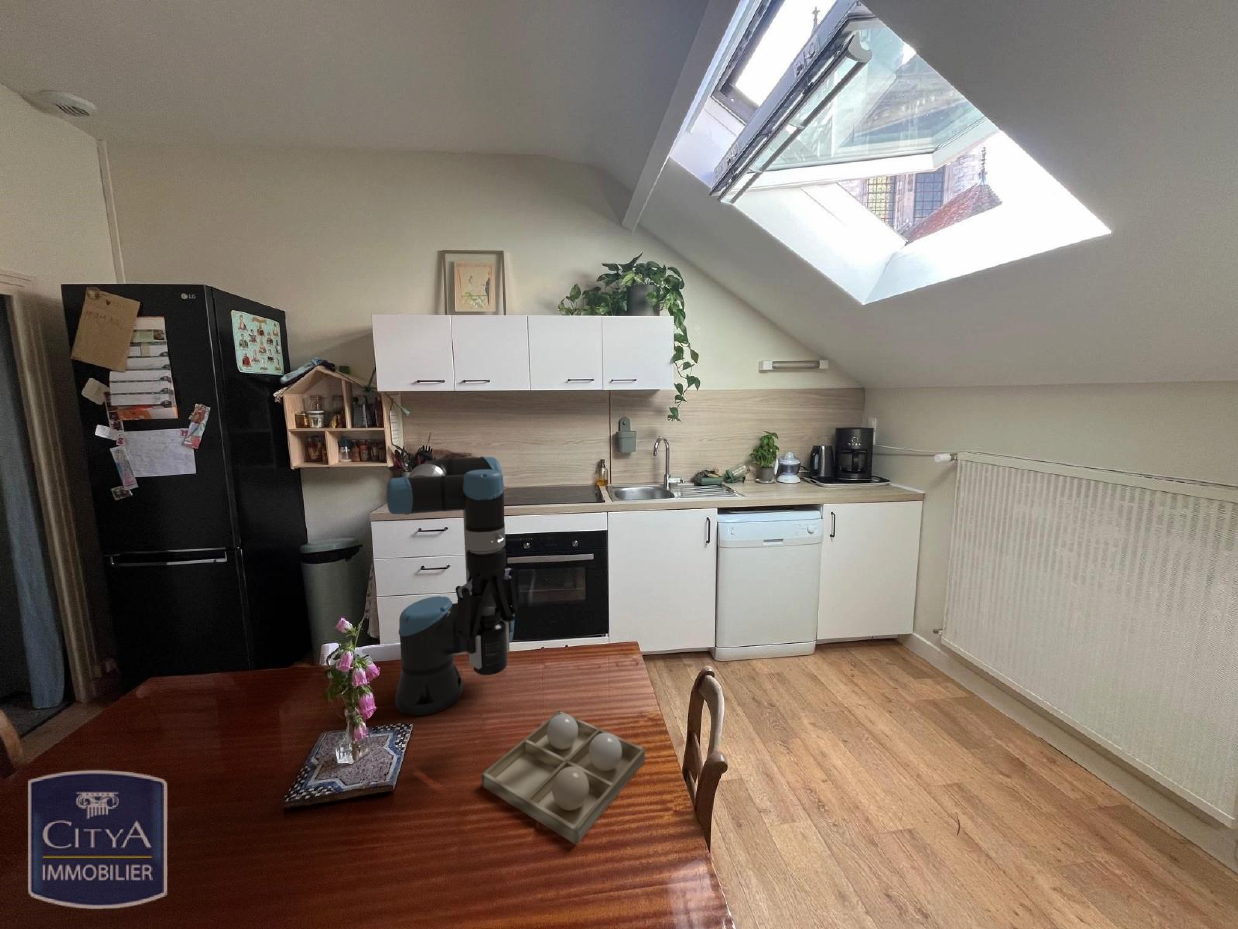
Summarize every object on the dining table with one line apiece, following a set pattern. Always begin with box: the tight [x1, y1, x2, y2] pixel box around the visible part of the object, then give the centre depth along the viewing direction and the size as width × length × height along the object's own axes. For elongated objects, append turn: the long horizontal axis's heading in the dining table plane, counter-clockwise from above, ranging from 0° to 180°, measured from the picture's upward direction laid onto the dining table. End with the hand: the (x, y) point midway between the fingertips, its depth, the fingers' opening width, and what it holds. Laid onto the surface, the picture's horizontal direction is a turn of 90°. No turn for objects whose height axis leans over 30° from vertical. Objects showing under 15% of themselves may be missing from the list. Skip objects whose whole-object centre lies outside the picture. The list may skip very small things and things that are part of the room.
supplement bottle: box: [472, 607, 509, 676], centre depth 99 cm, size 7×7×12 cm
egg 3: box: [589, 732, 622, 771], centre depth 94 cm, size 6×6×6 cm
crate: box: [481, 710, 646, 846], centre depth 92 cm, size 22×22×4 cm
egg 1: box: [547, 713, 578, 750], centre depth 99 cm, size 6×6×6 cm
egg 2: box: [552, 767, 589, 811], centre depth 85 cm, size 6×6×6 cm
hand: (490, 657), depth 99 cm, fingers closed on supplement bottle, 7 cm apart
